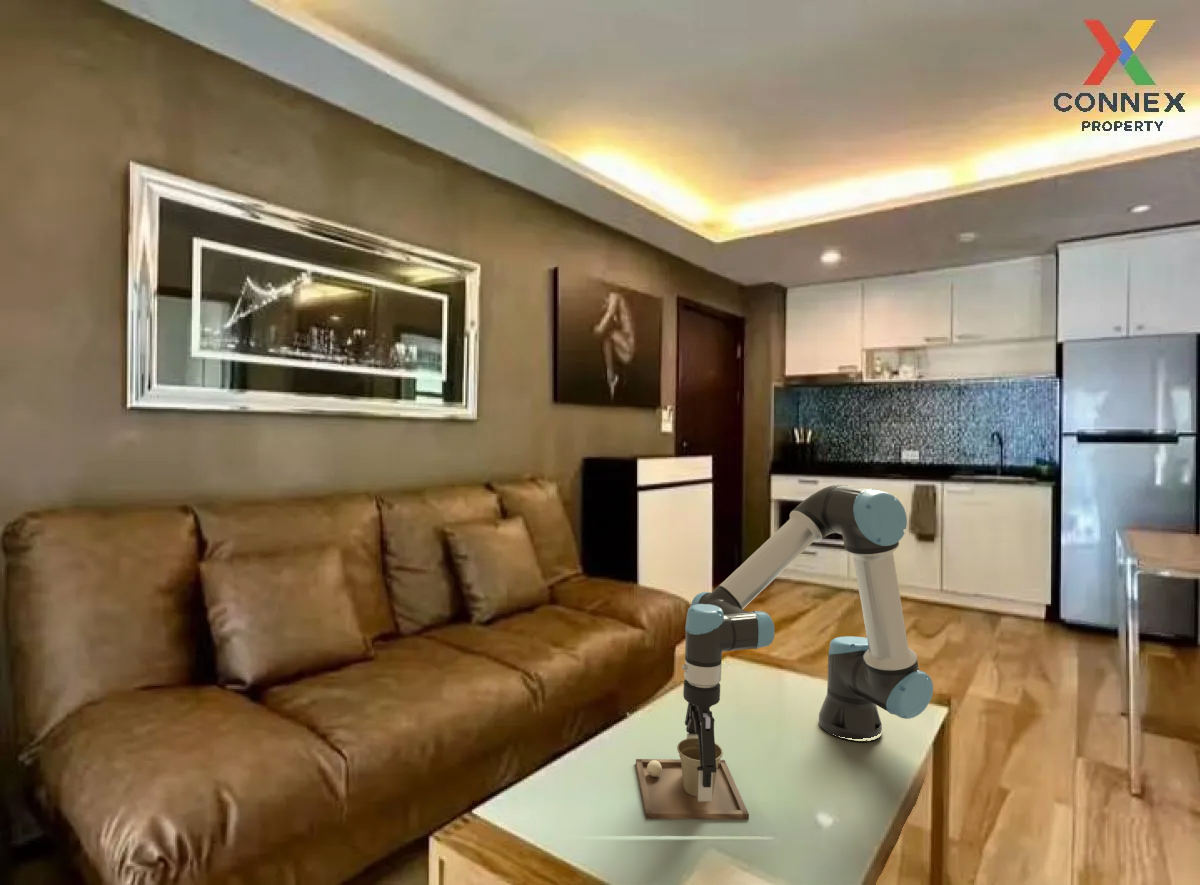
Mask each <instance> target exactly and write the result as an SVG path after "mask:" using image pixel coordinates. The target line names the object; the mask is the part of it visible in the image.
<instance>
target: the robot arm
mask: <svg viewBox="0 0 1200 885" xmlns="http://www.w3.org/2000/svg"><path fill="white" fill-rule="evenodd" d="M907 526H908V519H907V513H906V510H905V507H904V506H903V504H902V502H901V501H900V500H899V499H898V498H897V497H896V496H894V495H893V494H891V493H889V492H886V491H882V490H880V489H877V488H876V489H875V488H864V487H860V486H859V487H857V486H850V485H846V484H834V485H828V486H826V487H824V488H821V489H820V490H818V491H816V492H814V493H813V494H811V495H810V496H808V497H807V498H805V499H804V500H803V501H801V502H800V503H799V504H798V505H796V507H794V509H792V510H791V511H790V513H789V519H788V520H786V522H785V523H784V524H783V525H782V526H781V527H780V528H779V529H778V530H776V531H775V532H774V533H773V535H771V536H770V537H769V538H768V539H767V540H766V541H765V542H764V543H763V544H761V545H760V547H759V548H757V549H756V550H755V551H754V552H753V553H752V554H751V555H750V556H749V557H747V559H746V560H745V561H744V562H742V564H740V566H739V567H737V568H736V569H735V570H734V571H733V572H732V573H731V574H730V575H729V576H728V577H727V578H725V580H723V581H722V582H721V583H720V584H718V586H717V587H716V588H715V589H714V590H713V591H712V592H711V591H710V592H709V591H701V592H700V593H698V594H696V595H694V597H693V599H692V601H691V604H690V606H689V607H688V609H687V611H686V612H687V613H686V617H685V618H686V620H685V627H684V629H685V644H684V645H685V646H684V647H685V648H684V663H685V664H682V665H681V669H682V670H684V671H683V672H684V675H683V677H684V681H683V692H682V693H683V699H684V700H685V701H686V702H687V708H686V715H685V720H684V724H685V726H686V729H685V730H686V739H689V738H698V744H699V755H700V767H697V771H699V779H698V801H712V788H713V772H716V770H717V768H716V757H715V743H716V741H715V718H714V717H713V712H712V711H711V710H710V708H711V707H713V706H715V705H717V704H718V703H719V702H720V701H721V684H720V683H721V682H722V656H723V653H724V652H731V651H732V652H733V651H742V650H743V651H744V650H752V649H753V650H757V649H759V648H765V647H768V646H770V645H771V644H772V643H773V641H774V639H775V631H776V630H775V624H774V622H773V619H772V617H771V616H770V615H769V614H768V612H766V611H761V610H752V611H747V610H744V609H745V608H746V607H747V606H748V605H749V604H750V603H751V602H752V601H753V600H754V599H755V598H756V597H758V596H759V594H760V593H761V592H763V591H764V589H766V588H767V587H768V586H769V585H770V584H771V583H772V582H773V581H774V580H775V579H776V578H777V577H779V575H780V574H782V572H784V570H785V569H786V568H788V567H789V566H790V565H791V564H792V563H793V562H794V561H795V560H796V559H797V558H798V557H799V556H800V555H801V554H802V553H804V551H806V549H807V548H809V547H810V545H812V543H819V542H821V541H822V540H823V539H824V538H826V537H827V536H829V535H831V534H839V535H841V536H842V540H843V546H844V550H845V551H846V553H848V554H850V555H851V556H852V558H853V563H854V569H855V576H856V581H857V582H856V583H857V586H858V593H859V598H860V604H861V605H860V606H861V609H862V616H863V617H862V618H863V622H864V629H865V635H866V637H862V636H852V635H851V636H849V635H848V636H847V635H846V636H838V637H834V638H833V639H831V640H830V643H829V650H828V654H827V655H828V656H827V657H828V658H827V660H828V661H827V683H826V686H827V690H826V691H827V692H826V696H825V697H824V700H823V702H822V705H821V707H820V710H819V713H818V726H819V727H820V726H821V727H822V728H823V729H824V730H825V731H824V730H823V729H822V728H821V727H820V728H821V729H822V730H823V731H824V732H826V731H827V732H829V733H831V734H834V735H836V736H840V737H845V738H852V739H863V738H871V737H874V736H877V735H878V734H880V733H881V731H882V732H883V727H882V725H883V724H882V721H881V718H880V713H879V710H878V707H879V708H881V709H883V711H884V710H885V711H887V712H888V713H889V714H890V715H894V716H896V717H898V718H901V719H904V720H908V719H909V720H911V719H914V718H916V717H918V716H919V715H921V714H922V713H923V712H924V711H925V710H926V709H927V708H928V705H929V704H930V702H931V700H932V698H933V693H934V692H933V691H934V684H933V680H932V678H931V676H929V675H928V673H927V672H925V671H922V670H920V668H919V662H918V655H917V653H916V652H915V651H914V650H913V649H912V648H910V647H909V644H908V643H909V642H908V637H907V631H906V630H907V629H906V624H905V618H904V613H903V612H904V611H903V607H902V606H903V604H902V601H901V593H900V587H899V582H898V575H897V570H896V562H895V556H894V553H895V551H896V550H897V549H898V548H899V546H900V540H902V538H903V537H904V535H905V530H906V529H907ZM877 706H878V707H877ZM827 732H826V733H827ZM829 733H828V734H829ZM831 734H830V735H831Z"/></svg>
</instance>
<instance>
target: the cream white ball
mask: <svg viewBox="0 0 1200 885" xmlns="http://www.w3.org/2000/svg"><path fill="white" fill-rule="evenodd" d="M647 771H648V773H649V775H651V776H652V777H657V776H659V775H660V774H661V772H662V766H661V764H660V763H659V762H658V761H656V760H653V761H650V762H649V763H648V766H647Z"/></svg>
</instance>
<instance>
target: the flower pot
mask: <svg viewBox="0 0 1200 885" xmlns="http://www.w3.org/2000/svg"><path fill="white" fill-rule="evenodd" d="M676 747H677V748H676V750H677V753H678V755H679V759H681V766H682V776H683V787H684V789H685V791H686V792H687V793H688V794H690V795H692V796H696V797H698V779H699V771H697V767H700V755H699V744H698V738H689V739H687V738H686V739H682V740H681V741H679V743H678V744H677V746H676ZM723 754H724V751H723V748H722V747H721V746H720V745H719V744H718V743H716V742H715V757H716V768H717V767H718V763H719V762H720V760H721V758H722V757H723ZM716 773H717V770H716V772H713V788H712V793H713V790H714V783H715V778H716Z"/></svg>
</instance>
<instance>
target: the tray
mask: <svg viewBox="0 0 1200 885" xmlns="http://www.w3.org/2000/svg"><path fill="white" fill-rule="evenodd" d="M653 760H656V761H658V762H659V763H660V764H661V766H662V772H661V774H660V775H659V776H657V777H652V776H651V775H649V773H648V771H647V766H648V763H649V762H650V761H653ZM635 767H636V773H637V778H638V783H639V788H640V794H641V801H642V804H643V810H644V814H645V815H644V816H645V819H646V820H647V819H649V820H652V819H653V820H657V819H658V820H659V819H660V820H749V818H750V814H749V811H748V809H747V807H746V805H745V802H744V800H743V797H742V795H741V793H740V791H739V789H738V787H737V785H736V783H735V781H734V778H733V776H732V774H731V773H732V772H731V771H730V769H729V766H728V765H727V762H726V760H725V759H720V762H719V763H718V767H717V773H716V778H715V783H714V790H713V793H712V801H698V797H696V796H692V795H690V794H688V793H687V792H686V791H685V789H684V787H683V776H682V766H681V758H679V759H677V758H676V759H675V758H674V759H672V758H671V759H669V758H668V759H667V758H663V759H662V758H659V759H657V758H654V759H653V758H648V759H647V758H636V759H635Z"/></svg>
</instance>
